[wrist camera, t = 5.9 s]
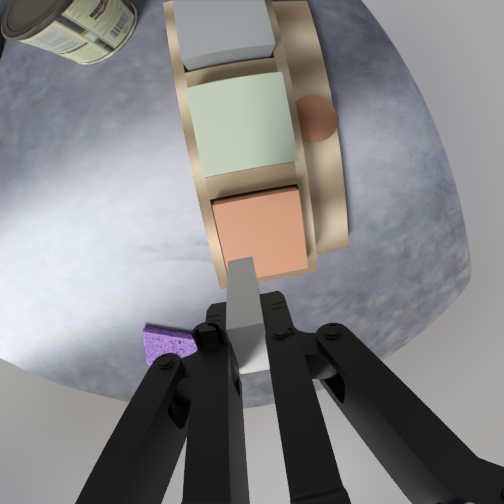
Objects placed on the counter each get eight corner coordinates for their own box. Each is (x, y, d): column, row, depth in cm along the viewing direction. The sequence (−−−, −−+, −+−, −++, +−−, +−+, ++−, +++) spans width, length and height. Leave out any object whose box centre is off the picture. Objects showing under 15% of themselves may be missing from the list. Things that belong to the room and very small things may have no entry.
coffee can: (73, 13, 18) (16, -21, 5) (142, -9, 19) (101, -66, 6) (63, 75, 22) (-10, 57, 9) (133, 54, 23) (74, 10, 10)
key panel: (175, 24, 22) (163, 3, 16) (303, 8, 21) (316, -15, 16) (222, 264, 33) (220, 289, 27) (342, 241, 33) (362, 261, 27)
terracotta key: (216, 195, 27) (212, 205, 23) (287, 182, 27) (298, 190, 23) (230, 261, 30) (230, 282, 25) (297, 248, 30) (307, 268, 25)
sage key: (195, 98, 22) (186, 88, 18) (273, 85, 22) (281, 71, 17) (209, 171, 25) (203, 177, 20) (286, 158, 25) (298, 160, 20)
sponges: (225, 368, 40) (225, 377, 39) (147, 357, 39) (145, 365, 37) (230, 335, 38) (230, 344, 36) (144, 323, 36) (141, 331, 35)
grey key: (181, 16, 18) (171, -6, 14) (254, 3, 18) (258, -21, 14) (191, 74, 21) (181, 59, 17) (268, 61, 21) (275, 43, 16)
